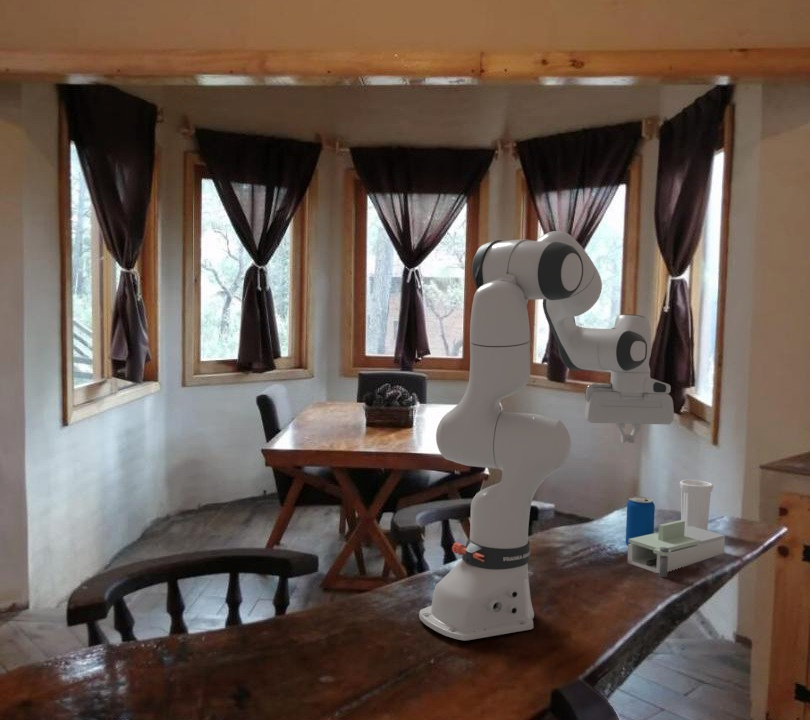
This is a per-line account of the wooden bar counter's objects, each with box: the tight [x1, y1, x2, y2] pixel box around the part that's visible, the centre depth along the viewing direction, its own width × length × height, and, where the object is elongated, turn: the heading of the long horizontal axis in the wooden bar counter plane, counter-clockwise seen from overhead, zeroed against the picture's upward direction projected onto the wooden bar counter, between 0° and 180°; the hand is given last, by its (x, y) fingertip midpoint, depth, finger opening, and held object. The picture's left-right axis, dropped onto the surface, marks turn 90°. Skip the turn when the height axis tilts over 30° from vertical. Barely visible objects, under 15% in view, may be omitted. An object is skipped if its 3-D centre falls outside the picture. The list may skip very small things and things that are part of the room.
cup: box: [679, 479, 714, 530], centre depth 192 cm, size 8×8×14 cm
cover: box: [629, 519, 700, 556], centre depth 169 cm, size 16×11×4 cm
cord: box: [646, 558, 657, 566], centre depth 173 cm, size 23×1×1 cm, turn 125°
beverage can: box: [625, 495, 656, 546], centre depth 182 cm, size 6×6×12 cm
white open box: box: [627, 526, 726, 578], centre depth 172 cm, size 25×11×5 cm, turn 125°
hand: (627, 442), depth 175 cm, fingers closed
